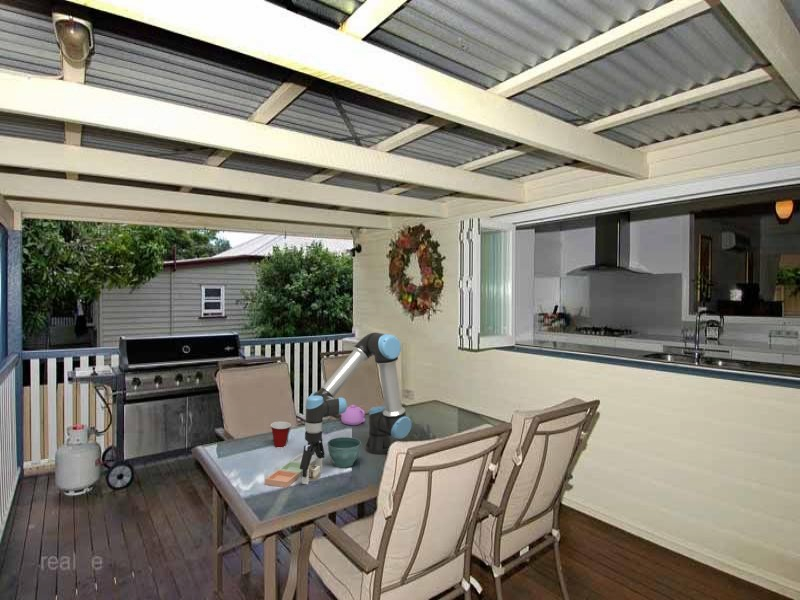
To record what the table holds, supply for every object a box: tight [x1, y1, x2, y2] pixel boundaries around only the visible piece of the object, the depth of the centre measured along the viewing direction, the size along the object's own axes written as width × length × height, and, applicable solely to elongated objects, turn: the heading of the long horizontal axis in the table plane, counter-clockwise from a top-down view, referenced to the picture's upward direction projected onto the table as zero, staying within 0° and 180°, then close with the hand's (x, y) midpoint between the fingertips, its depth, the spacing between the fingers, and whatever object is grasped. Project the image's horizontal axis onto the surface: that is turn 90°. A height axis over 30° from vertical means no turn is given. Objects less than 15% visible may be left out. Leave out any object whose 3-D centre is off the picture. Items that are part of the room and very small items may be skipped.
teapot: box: [339, 404, 366, 426], centre depth 292 cm, size 20×13×12 cm, turn 68°
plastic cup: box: [270, 421, 292, 448], centre depth 245 cm, size 11×11×12 cm
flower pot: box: [327, 436, 362, 468], centre depth 222 cm, size 16×16×11 cm
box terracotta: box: [264, 469, 300, 489], centre depth 200 cm, size 11×11×2 cm
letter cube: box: [308, 465, 321, 482], centre depth 204 cm, size 5×5×5 cm
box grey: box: [290, 453, 318, 465], centre depth 221 cm, size 11×11×2 cm
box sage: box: [277, 460, 310, 479], centre depth 211 cm, size 11×11×2 cm
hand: (312, 477), depth 204 cm, fingers open, 13 cm apart
